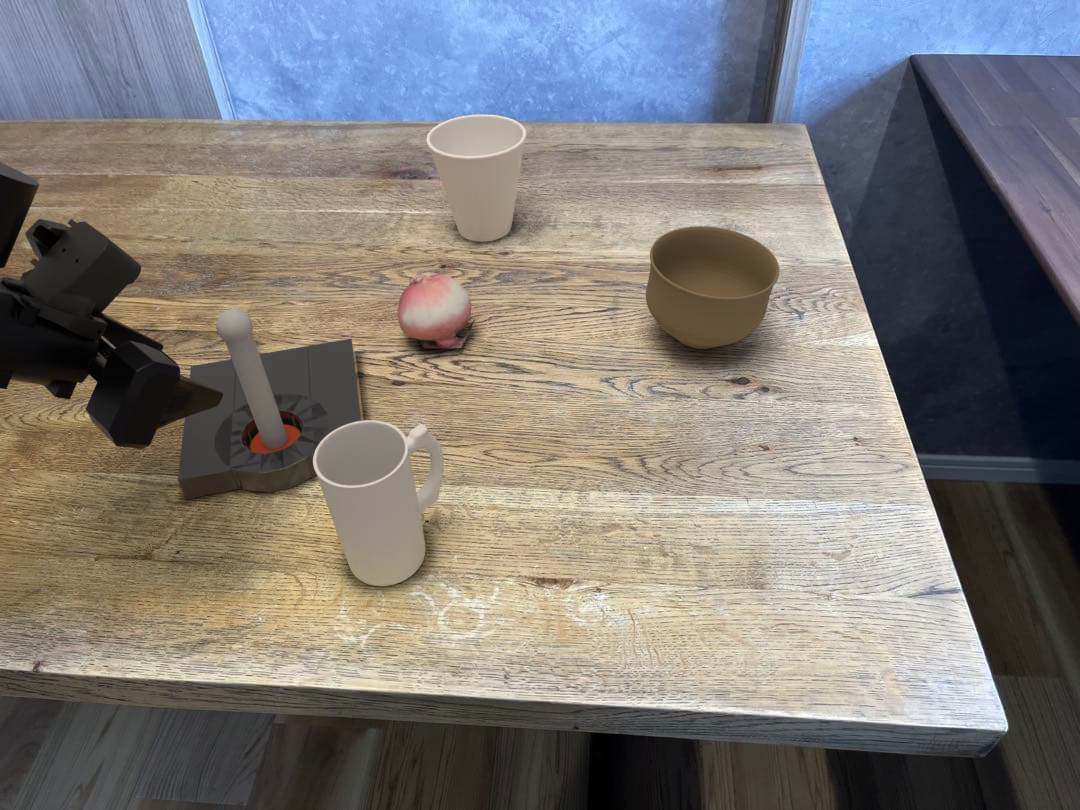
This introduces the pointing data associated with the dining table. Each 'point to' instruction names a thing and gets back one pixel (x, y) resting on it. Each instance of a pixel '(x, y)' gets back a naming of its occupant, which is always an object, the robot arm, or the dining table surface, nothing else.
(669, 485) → the dining table surface
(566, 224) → the dining table surface
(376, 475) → the mug
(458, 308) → the onion
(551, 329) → the dining table surface
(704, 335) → the bowl
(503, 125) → the cup
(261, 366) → the stopper
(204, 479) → the sink board
